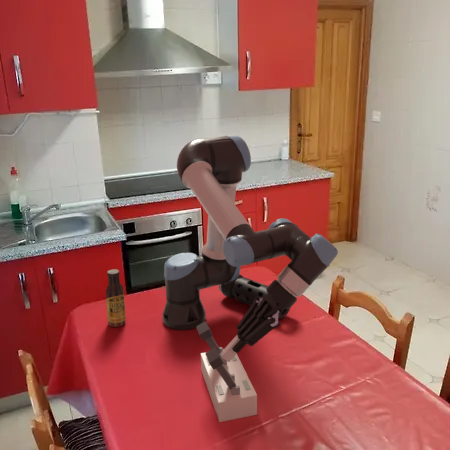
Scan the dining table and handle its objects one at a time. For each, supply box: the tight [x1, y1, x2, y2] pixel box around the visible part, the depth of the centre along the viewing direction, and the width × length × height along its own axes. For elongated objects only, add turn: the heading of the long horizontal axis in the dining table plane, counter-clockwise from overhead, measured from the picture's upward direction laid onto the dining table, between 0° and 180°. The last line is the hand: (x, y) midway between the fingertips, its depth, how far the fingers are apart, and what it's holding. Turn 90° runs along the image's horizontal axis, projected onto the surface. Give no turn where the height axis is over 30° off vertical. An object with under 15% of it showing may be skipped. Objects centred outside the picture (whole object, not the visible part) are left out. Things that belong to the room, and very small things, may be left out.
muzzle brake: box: [218, 273, 291, 320], centre depth 174 cm, size 10×28×10 cm, turn 46°
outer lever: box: [204, 347, 236, 390], centre depth 121 cm, size 3×4×11 cm
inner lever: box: [196, 320, 222, 358], centre depth 133 cm, size 3×4×11 cm
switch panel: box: [200, 346, 258, 423], centre depth 130 cm, size 10×22×8 cm, turn 15°
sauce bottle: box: [105, 268, 127, 328], centre depth 164 cm, size 7×6×20 cm
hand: (224, 358), depth 119 cm, fingers closed
